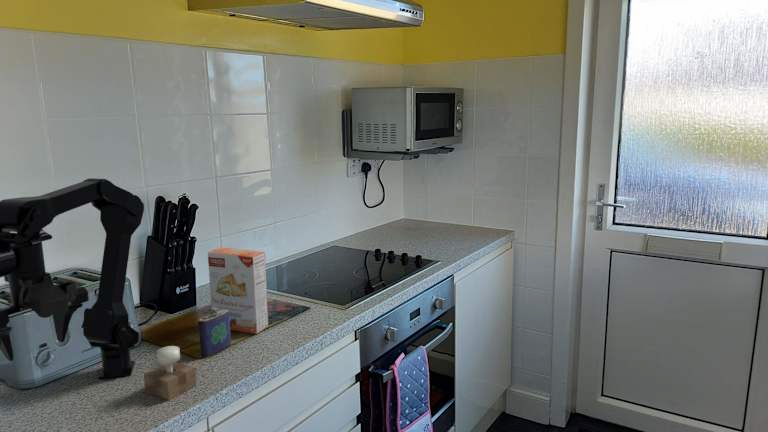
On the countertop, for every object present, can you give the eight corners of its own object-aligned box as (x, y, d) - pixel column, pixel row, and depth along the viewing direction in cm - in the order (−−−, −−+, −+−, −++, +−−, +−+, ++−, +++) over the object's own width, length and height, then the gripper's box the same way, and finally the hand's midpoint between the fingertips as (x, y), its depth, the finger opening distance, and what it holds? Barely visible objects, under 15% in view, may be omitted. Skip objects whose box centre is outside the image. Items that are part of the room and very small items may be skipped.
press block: (145, 392, 113) (143, 374, 113) (173, 378, 119) (171, 360, 119) (169, 400, 110) (167, 381, 109) (196, 385, 116) (195, 367, 115)
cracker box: (211, 328, 147) (206, 251, 143) (225, 320, 152) (221, 246, 149) (256, 335, 142) (252, 256, 138) (269, 327, 147) (265, 250, 144)
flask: (225, 342, 138) (223, 301, 136) (235, 344, 137) (232, 303, 135) (197, 356, 130) (194, 313, 128) (207, 359, 129) (204, 315, 127)
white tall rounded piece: (154, 389, 114) (151, 352, 112) (172, 380, 118) (169, 344, 116) (169, 394, 112) (166, 356, 110) (187, 385, 116) (184, 348, 114)
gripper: (-6, 290, 88) (7, 381, 91) (102, 262, 104) (111, 340, 107) (-42, 280, 93) (-29, 367, 96) (66, 255, 109) (75, 330, 112)
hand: (37, 350), depth 102 cm, fingers open, 9 cm apart
